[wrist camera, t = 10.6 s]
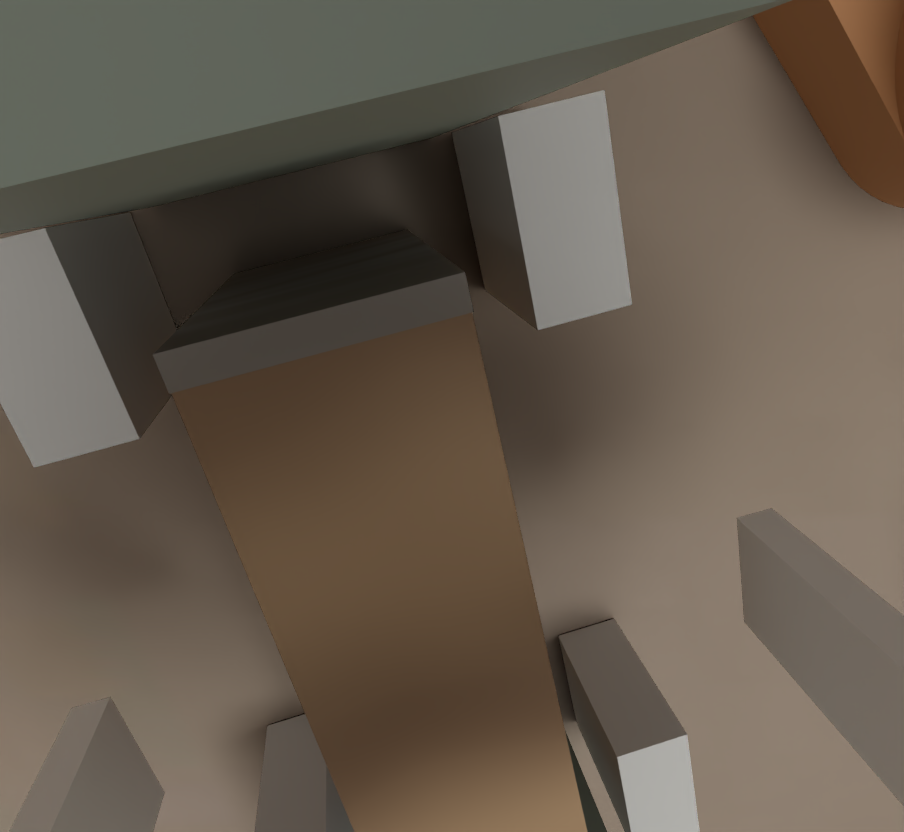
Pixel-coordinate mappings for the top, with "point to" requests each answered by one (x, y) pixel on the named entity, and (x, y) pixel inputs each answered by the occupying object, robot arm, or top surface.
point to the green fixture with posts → (296, 148)
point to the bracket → (849, 81)
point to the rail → (381, 532)
